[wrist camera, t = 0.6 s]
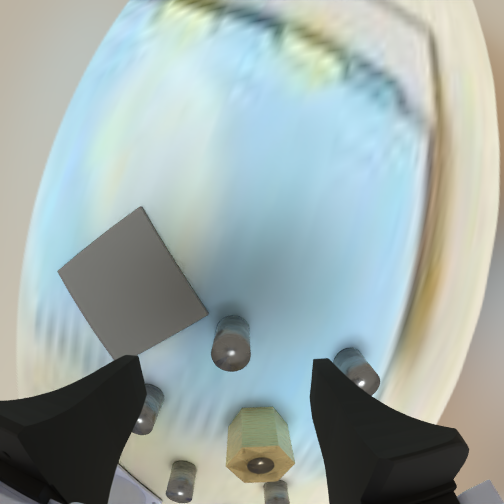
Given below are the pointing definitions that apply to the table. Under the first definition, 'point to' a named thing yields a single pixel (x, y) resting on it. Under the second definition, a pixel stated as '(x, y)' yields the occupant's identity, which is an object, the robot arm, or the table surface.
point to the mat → (131, 288)
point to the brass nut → (259, 445)
